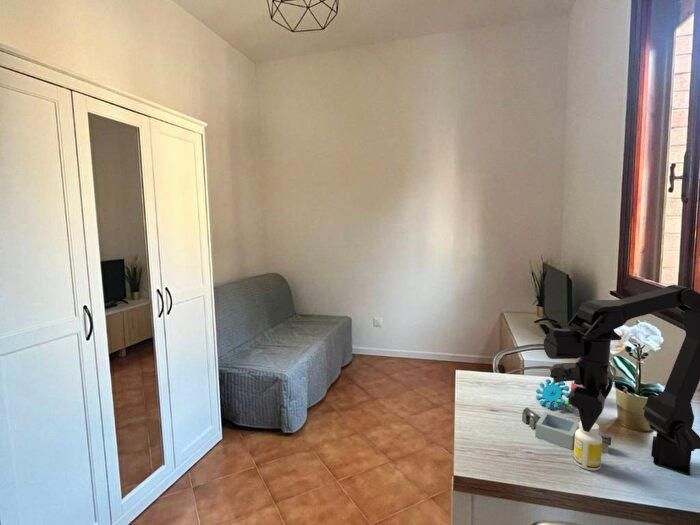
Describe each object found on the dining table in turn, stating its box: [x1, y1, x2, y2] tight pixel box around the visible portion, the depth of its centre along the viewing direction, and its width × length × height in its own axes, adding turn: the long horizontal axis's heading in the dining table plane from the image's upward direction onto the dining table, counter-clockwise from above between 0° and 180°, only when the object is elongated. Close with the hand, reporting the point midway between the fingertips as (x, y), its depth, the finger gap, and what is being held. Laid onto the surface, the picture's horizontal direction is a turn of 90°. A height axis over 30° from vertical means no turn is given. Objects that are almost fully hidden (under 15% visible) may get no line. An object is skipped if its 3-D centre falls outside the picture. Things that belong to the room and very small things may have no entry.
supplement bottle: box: [573, 420, 603, 471], centre depth 88 cm, size 5×5×10 cm
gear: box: [535, 378, 572, 411], centre depth 116 cm, size 11×6×10 cm
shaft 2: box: [599, 433, 612, 454], centre depth 95 cm, size 7×3×4 cm, turn 59°
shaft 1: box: [521, 407, 541, 430], centre depth 105 cm, size 6×3×4 cm, turn 14°
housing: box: [534, 411, 580, 450], centre depth 99 cm, size 8×8×4 cm
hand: (589, 422), depth 87 cm, fingers open, 9 cm apart
